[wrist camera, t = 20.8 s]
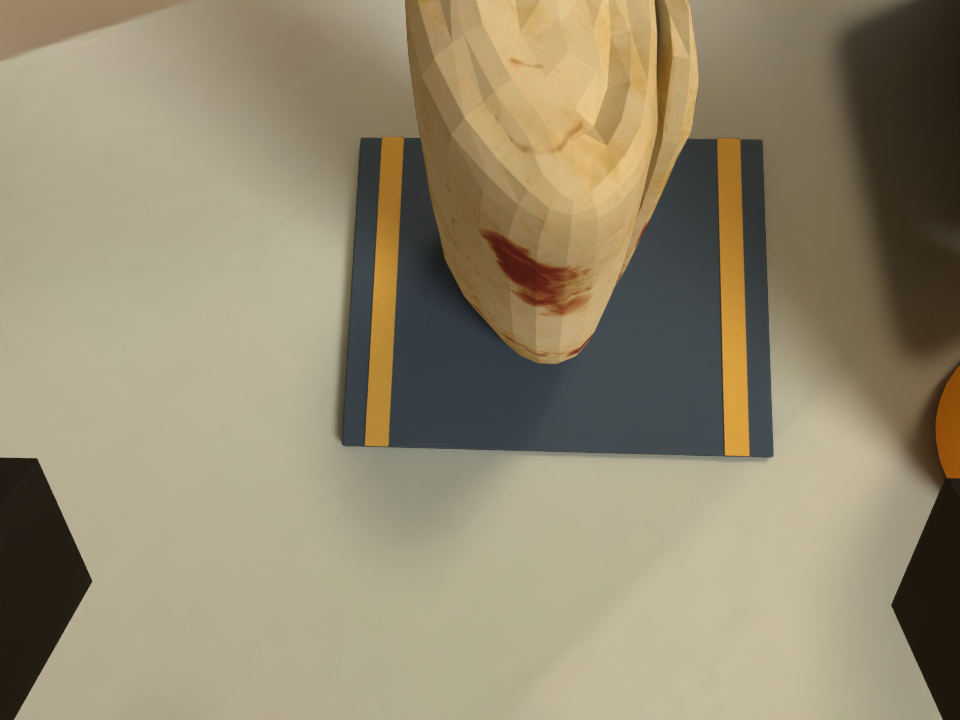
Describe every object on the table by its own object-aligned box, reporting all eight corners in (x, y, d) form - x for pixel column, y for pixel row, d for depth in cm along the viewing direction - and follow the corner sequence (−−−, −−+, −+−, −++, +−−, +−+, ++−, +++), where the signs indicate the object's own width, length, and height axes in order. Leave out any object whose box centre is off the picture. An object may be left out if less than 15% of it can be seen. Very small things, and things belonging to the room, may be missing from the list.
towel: (344, 446, 34) (341, 445, 34) (362, 142, 37) (360, 136, 36) (770, 457, 33) (774, 456, 33) (759, 143, 36) (763, 138, 35)
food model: (433, 195, 36) (321, -187, 16) (578, 158, 35) (645, -272, 16) (486, 406, 34) (432, 268, 14) (638, 367, 34) (800, 175, 14)
